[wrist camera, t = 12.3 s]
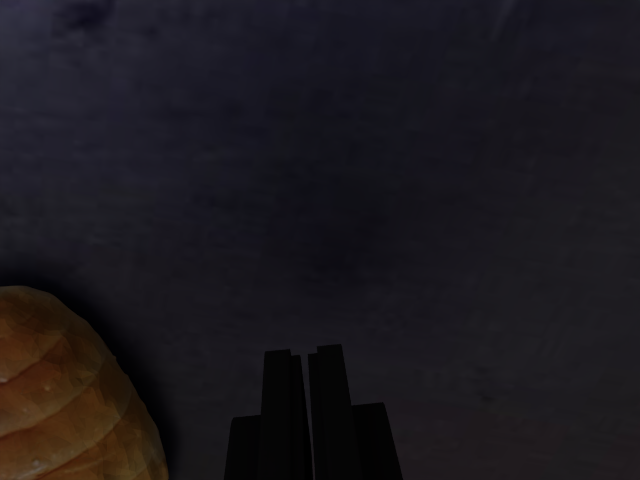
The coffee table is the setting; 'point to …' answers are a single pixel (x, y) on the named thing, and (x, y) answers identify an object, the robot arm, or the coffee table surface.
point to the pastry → (67, 399)
